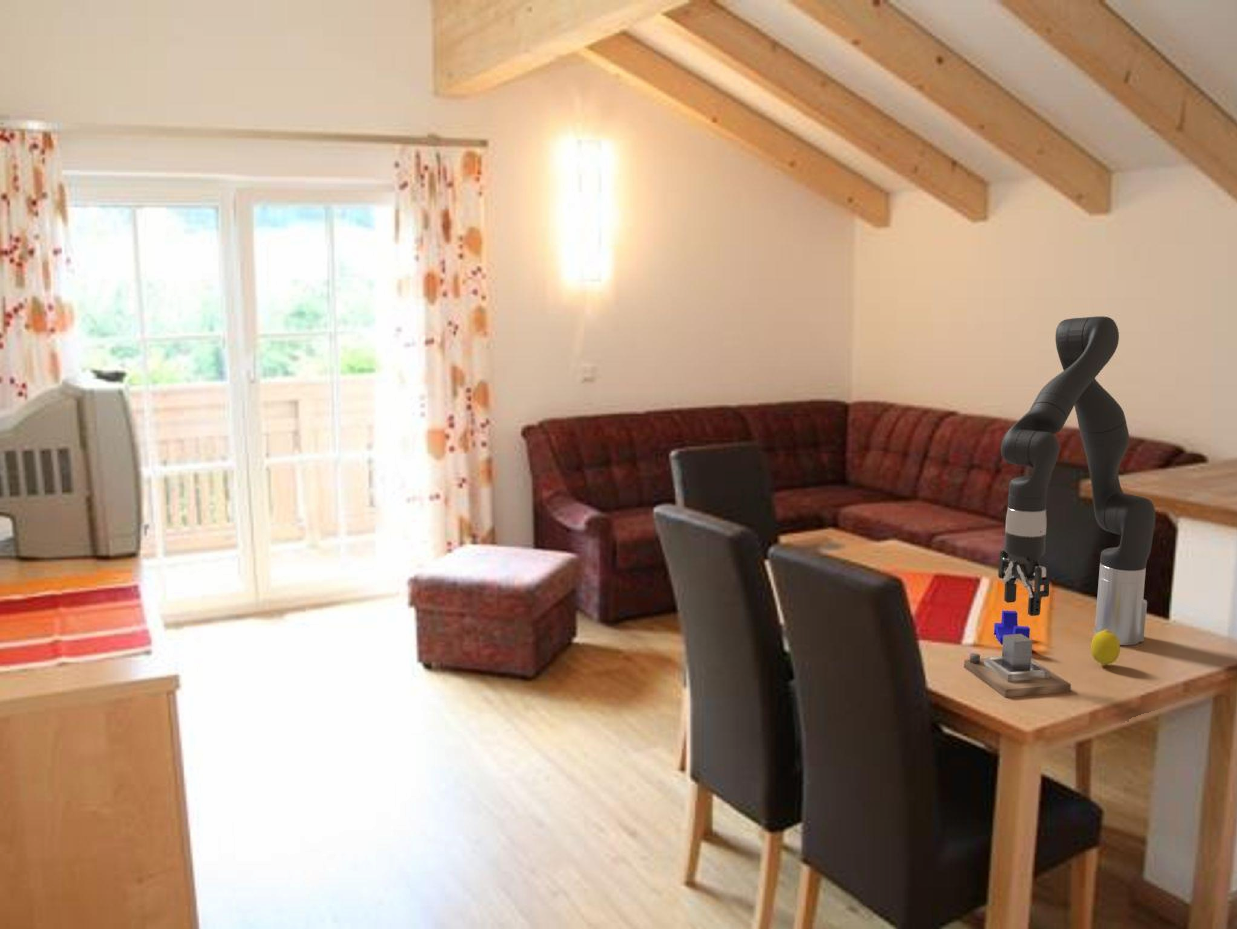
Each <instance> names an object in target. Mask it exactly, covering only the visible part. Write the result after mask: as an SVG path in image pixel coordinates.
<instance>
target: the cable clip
mask: <svg viewBox="0 0 1237 929" xmlns="http://www.w3.org/2000/svg"><path fill="white" fill-rule="evenodd" d="M993 628H994V629H993V636H994V635H996V637H995V639H996V638H997V639H998V640H997V639H996V640H997V642H998V641H999V642H1000V643H1001V644H1000V643H999V642H998V643H999V644H1000V645H1003V635H1012V634H1022V635H1024V636H1026V637H1027V638H1029V639H1030V634H1031V632H1030V631H1031V628H1030V627H1029V626H1027V625H1025V626H1023V625H1019V624H1018V612H1017V611H1016V610H1001V622H994V626H993Z"/></svg>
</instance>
